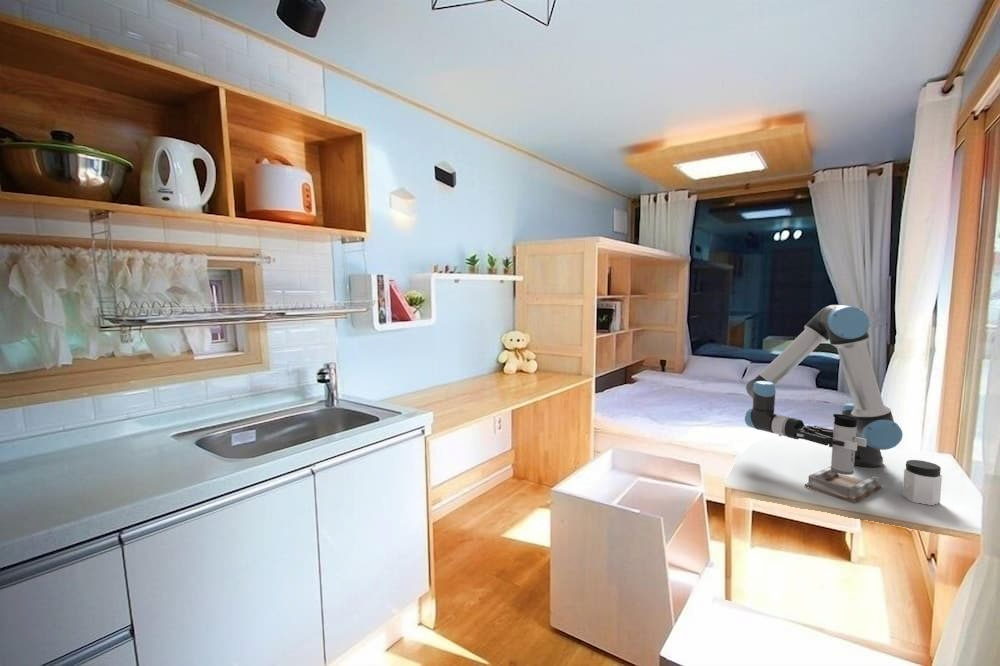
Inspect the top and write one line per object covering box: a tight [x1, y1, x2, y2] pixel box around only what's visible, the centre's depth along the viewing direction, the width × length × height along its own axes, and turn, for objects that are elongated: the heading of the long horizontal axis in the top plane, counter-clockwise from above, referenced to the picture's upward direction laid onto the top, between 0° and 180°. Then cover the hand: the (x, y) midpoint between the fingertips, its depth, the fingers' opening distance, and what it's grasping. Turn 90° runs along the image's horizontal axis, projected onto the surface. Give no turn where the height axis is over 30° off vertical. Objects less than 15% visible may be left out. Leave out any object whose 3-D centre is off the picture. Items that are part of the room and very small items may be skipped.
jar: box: [902, 459, 943, 506], centre depth 146 cm, size 9×8×12 cm
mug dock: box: [804, 465, 883, 504], centre depth 156 cm, size 20×15×4 cm
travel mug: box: [830, 413, 857, 476], centre depth 155 cm, size 6×7×20 cm
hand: (861, 444), depth 150 cm, fingers closed on travel mug, 6 cm apart
